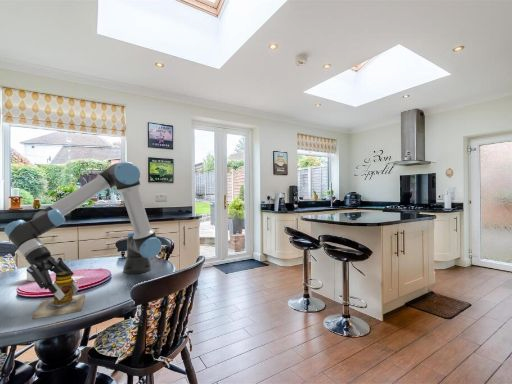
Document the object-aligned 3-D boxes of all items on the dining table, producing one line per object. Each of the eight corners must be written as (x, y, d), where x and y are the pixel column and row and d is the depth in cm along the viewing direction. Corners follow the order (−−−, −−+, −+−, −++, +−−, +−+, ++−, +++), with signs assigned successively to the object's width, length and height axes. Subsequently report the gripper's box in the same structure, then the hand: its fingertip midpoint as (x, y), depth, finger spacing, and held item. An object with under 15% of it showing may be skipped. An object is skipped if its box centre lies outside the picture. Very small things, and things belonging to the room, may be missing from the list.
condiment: (60, 307, 101) (61, 276, 101) (44, 303, 103) (45, 273, 103) (78, 299, 108) (78, 271, 108) (63, 297, 110) (64, 268, 110)
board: (85, 296, 116) (85, 293, 116) (81, 310, 102) (81, 307, 102) (42, 303, 108) (42, 300, 108) (32, 319, 95) (32, 315, 95)
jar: (25, 282, 132) (25, 259, 132) (28, 277, 139) (28, 255, 139) (47, 279, 137) (48, 256, 137) (49, 275, 143) (49, 253, 143)
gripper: (51, 252, 117) (82, 291, 115) (4, 264, 98) (41, 311, 96) (61, 241, 116) (93, 280, 114) (16, 251, 97) (53, 297, 95)
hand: (69, 294), depth 105 cm, fingers closed on condiment, 6 cm apart
